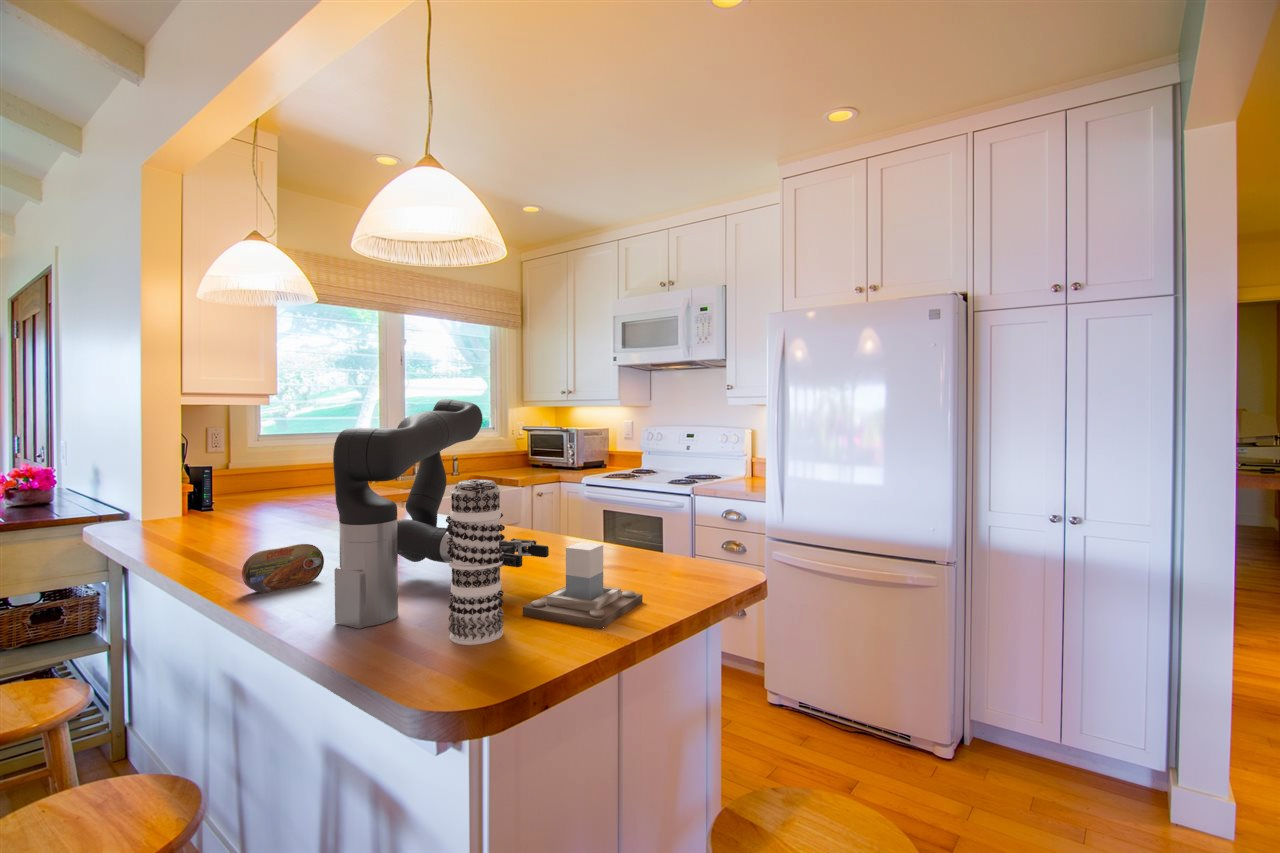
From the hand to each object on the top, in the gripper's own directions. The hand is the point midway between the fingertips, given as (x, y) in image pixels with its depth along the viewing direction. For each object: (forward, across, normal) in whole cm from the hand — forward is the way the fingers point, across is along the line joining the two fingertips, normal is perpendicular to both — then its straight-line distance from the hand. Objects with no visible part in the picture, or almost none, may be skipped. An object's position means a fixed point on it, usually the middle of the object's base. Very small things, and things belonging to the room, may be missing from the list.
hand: (534, 556), depth 115 cm
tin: (-52, -15, +9) cm, 55 cm away
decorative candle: (+2, -19, +9) cm, 21 cm away
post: (+11, 0, +7) cm, 13 cm away
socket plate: (+11, 0, +8) cm, 14 cm away
